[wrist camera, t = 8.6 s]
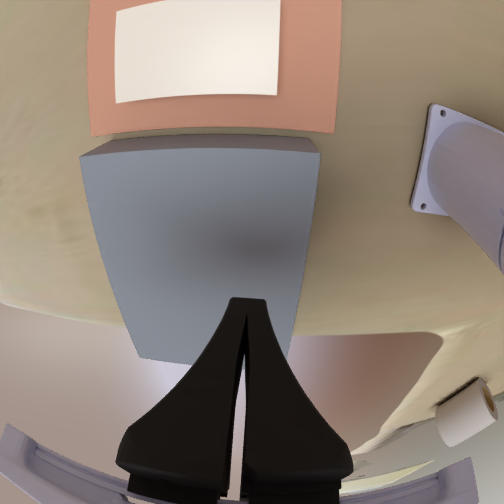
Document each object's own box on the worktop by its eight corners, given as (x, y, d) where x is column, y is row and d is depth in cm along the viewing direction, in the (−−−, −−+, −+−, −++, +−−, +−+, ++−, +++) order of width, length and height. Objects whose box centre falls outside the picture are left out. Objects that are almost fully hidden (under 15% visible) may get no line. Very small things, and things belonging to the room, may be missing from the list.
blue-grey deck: (308, 138, 16) (320, 153, 13) (282, 336, 26) (283, 370, 23) (111, 140, 16) (79, 156, 13) (151, 325, 26) (139, 357, 23)
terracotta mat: (338, -64, 7) (339, -65, 7) (333, 133, 16) (333, 133, 16) (99, -44, 8) (98, -45, 7) (93, 136, 16) (91, 136, 16)
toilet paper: (473, 374, 33) (490, 420, 25) (486, 381, 36) (500, 419, 28) (430, 404, 38) (442, 448, 30) (449, 407, 41) (460, 445, 33)
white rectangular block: (276, 95, 13) (275, 94, 14) (280, -6, 9) (278, 4, 11) (115, 103, 13) (130, 100, 15) (116, 11, 10) (130, 16, 11)
